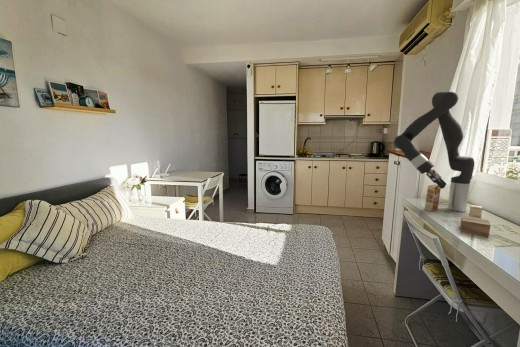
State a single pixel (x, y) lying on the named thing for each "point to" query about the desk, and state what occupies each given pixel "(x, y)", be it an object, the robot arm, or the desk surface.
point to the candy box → (432, 197)
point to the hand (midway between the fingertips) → (444, 186)
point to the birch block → (475, 211)
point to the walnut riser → (475, 226)
